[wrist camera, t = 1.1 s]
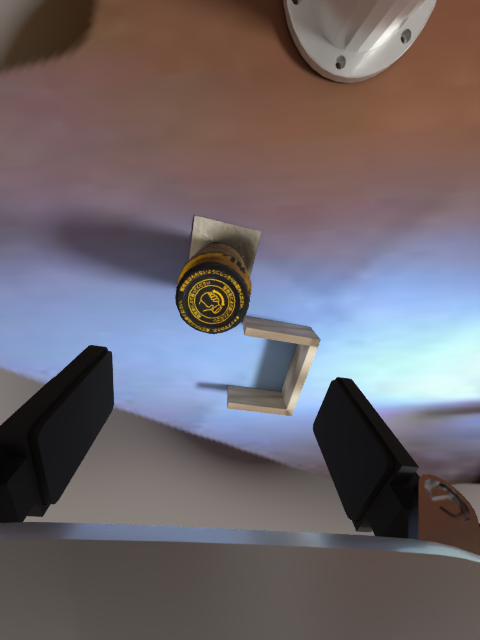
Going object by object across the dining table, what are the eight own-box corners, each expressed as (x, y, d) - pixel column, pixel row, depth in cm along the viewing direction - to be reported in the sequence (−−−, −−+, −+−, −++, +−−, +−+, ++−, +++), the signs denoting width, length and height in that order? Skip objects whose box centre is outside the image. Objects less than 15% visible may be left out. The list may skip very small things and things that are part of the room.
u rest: (244, 315, 29) (246, 327, 26) (310, 327, 31) (320, 339, 27) (227, 390, 34) (227, 408, 31) (285, 398, 35) (291, 415, 32)
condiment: (184, 291, 28) (157, 336, 17) (194, 215, 25) (169, 210, 14) (243, 302, 29) (254, 352, 18) (260, 231, 26) (286, 238, 15)
